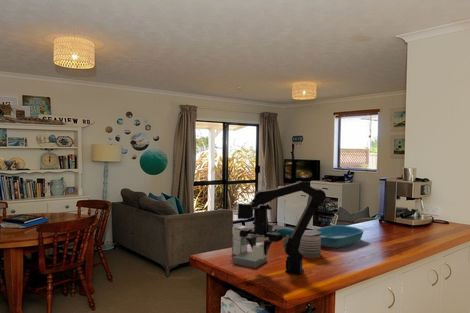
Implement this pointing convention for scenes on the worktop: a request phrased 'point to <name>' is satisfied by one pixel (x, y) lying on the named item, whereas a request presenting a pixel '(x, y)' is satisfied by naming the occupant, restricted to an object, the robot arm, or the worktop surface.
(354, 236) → the casserole dish
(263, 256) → the cube
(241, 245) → the syrup box
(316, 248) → the can
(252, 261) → the plinth
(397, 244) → the worktop surface
